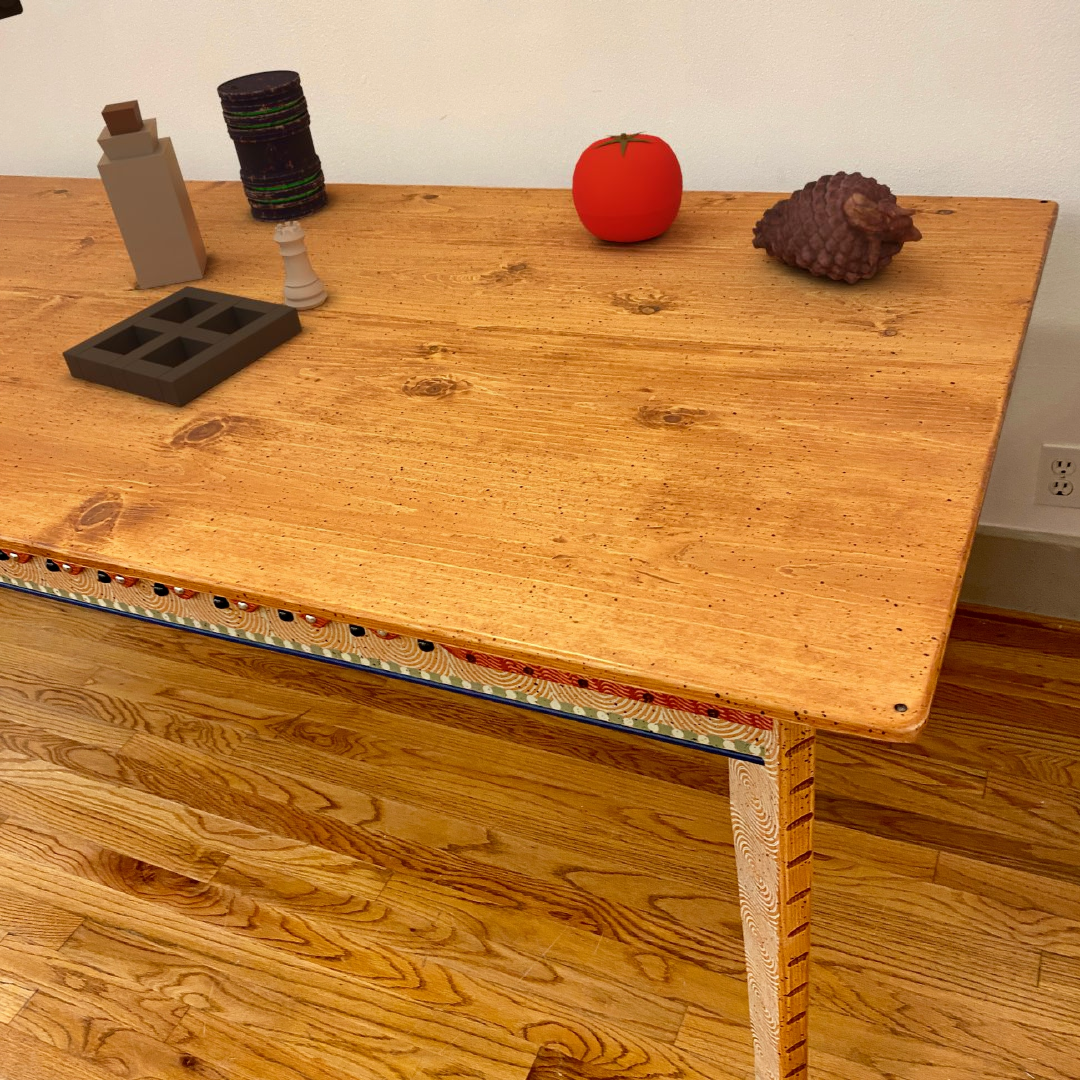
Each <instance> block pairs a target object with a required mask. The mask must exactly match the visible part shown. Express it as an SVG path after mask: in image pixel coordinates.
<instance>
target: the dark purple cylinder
mask: <svg viewBox="0 0 1080 1080" xmlns="http://www.w3.org/2000/svg"><path fill="white" fill-rule="evenodd" d="M301 82H302V81H301V76H300V73H299V72H297V71H295V70H287V69H278V70H276V69H275V70H267V71H260V72H254V73H249V74H245V75H241V76H237V77H234V78H232V79H229V80H227V81H224V82H222V83H220V84H219V85H218V86H217V87H216V92H217V95H218V97H219V99H220V105H221V109H222V116H223V117H222V118H223V120H224V123H225V124H226V129H227V131H226V132H227V134H228V137H229V138H230V140H232V141H233V145H234V149H235V152H236V157H237V160H238V163H239V166H240V169H239V179H240V180H241V183H242V188H243V192H244V195H245V197H246V198H247V202H248V205H249V206H250V213H251V216H252V219H254V220H256V221H259V222H264V223H279V222H280V223H281V222H289V221H295V220H299V219H302V218H305V217H309V216H311V215H314V214H316V213H318V212H320V211H322V210H324V209H325V208H326V207H327V206H328V205H329V202H330V199H329V196H328V193H327V192H326V189H327V188H326V187H327V186H326V184H325V181H326V178H325V174H324V170H323V168H322V161H321V158H320V156H319V154H317V153H316V150H315V149H316V148H315V144H314V140H313V136H312V132H311V127H310V125H311V123H312V122H311V114H310V113H309V109H308V107H309V106H308V101H307V97H306V96H305V95H304V94H305V92H304V88H303V86H302V85H301Z"/></svg>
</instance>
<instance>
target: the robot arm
mask: <svg viewBox="0 0 1080 1080" xmlns="http://www.w3.org/2000/svg"><path fill="white" fill-rule="evenodd" d="M23 12H24V7H23V5H22V2H21V0H0V21H2V20H5V19H9V18H11V17H15V16H19V15H22V14H23Z"/></svg>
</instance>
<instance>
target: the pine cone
mask: <svg viewBox="0 0 1080 1080" xmlns="http://www.w3.org/2000/svg"><path fill="white" fill-rule="evenodd" d="M897 200H898V197H897V196H896V194H894V193H892V192H891V187H889V186H888V185H887V184H886V183H883V184H880V183H878V179H876V178H874V177H873V176H870V177H867V176H863V175H862V173H861V172H860V171H854V172H852V173H846V172H845V171H844V170H840V171H838V172H836V173H835V174H824V175H821V176H820V177H819V178H818V179H817V180H814V181H813V180H812V181H808V182H807V183H806V184H804V186H803V188H802V189H796V190H793V192H792V193H791V195H790V197H789V198H786V199H781V200H778V201H777V202H776V203H775V204H773V206H772V207H771V208H767V209H766V210H764V212H763V214H762V216H763V217H762V218H761V219H760V220H757V221H756V222H755V227H752V228H751V229H752V233H753V235H754V238H752V240H751V244H752V246H753V249H755V250H759V249H761V250H762V249H763V250H765V254H766V256H769V257H771V258H774V257H775V258H776V259H778V261H779V262H780V263H782V264H788V265H789V266H790V267H792V268H798V267H799V268H803V269H808V270H809V272H811V274H812V275H813V276H814V277H817V278H818V277H821V276H823V275H827V276H828V278H830V279H832V280H833V281H839V280H844V281H845V282H846V283H848V285H854V284H855V283H856V282H857V281H858V280H859V279H861V278H862V279H864V280H867V279H868V280H869V279H871V278H873V277H874V276H875V274H876V272H877V271H878V270H880V269H884V268H887V267H889V266H890V265H891V264H892V262H893V261H894V260H893V257H894V256H896V255H898V254H901V252H902V249H903V248H904V244H905V243H910V242H914V243H916V242H919V241H921V240H922V239H923V237H924V236H923V234H922V233H921V231H920V230H919V229H918V228H917V227H916V226H915V225H914V220H913V218H912V216H915V214H916V213H917V211H916V209H915V208H913V209H909V208H903V207H901V205H898V204H897Z"/></svg>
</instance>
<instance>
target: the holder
mask: <svg viewBox="0 0 1080 1080" xmlns="http://www.w3.org/2000/svg"><path fill="white" fill-rule="evenodd" d="M302 332H303V327H302V324H301V321H300V316H299V312H298V310H297V309H296V307H291V306H287V305H286V304H280V303H275V302H270V301H265V300H260V299H255V298H249V297H246V296H241V295H236V294H232V293H231V294H230V293H226V292H220V291H215V290H211V289H204V288H200V287H194V286H189V285H187V286H185V287H183V288H181V289H179V290H177V291H174V292H173V293H172V294H170V295H168V296H166V297H164V298H162V299H160V300H158V301H157V302H156V301H155V303H153V304H151V305H149V306H147V307H145V308H143V309H141V310H139V311H138V312H135V313H134V314H132V315H129V316H128V317H126V318H124V319H123V320H120V321H119V322H117V323H115V324H113V325H111V326H110V327H107V328H106V329H104V330H102V331H100V332H98V333H96V334H95V335H92V336H91V337H89V338H87V339H85V340H84V341H81V342H80V343H78V344H76V345H74V346H72V347H70V348H68V349H66V350H65V351H62V352H61V354H62V356H63V359H64V361H65V363H66V366H67V368H68V370H69V373H70V375H71V377H74V378H77V379H81V380H84V381H88V382H92V383H95V384H99V385H102V386H104V387H105V386H106V387H109V388H113V389H116V390H119V391H122V392H126V393H129V394H134V395H137V396H139V397H144V398H148V399H151V400H155V401H158V402H162V403H165V404H168V405H169V404H170V405H172V406H177V407H182V406H184V405H186V404H188V403H190V402H191V401H193V400H194V399H196V398H198V397H199V396H201V395H202V394H204V393H205V392H206V391H208V390H210V389H213V388H214V387H215V386H217V385H219V384H220V383H222V382H223V381H225V380H226V379H228V378H230V377H232V375H235V374H236V373H238V372H239V371H241V370H243V369H244V368H246V367H247V366H249V365H251V364H252V363H254V362H255V361H257V360H258V359H260V358H262V357H263V356H265V355H266V354H268V353H270V352H271V351H273V350H275V349H276V348H278V347H279V346H281V345H282V344H284V343H286V342H288V341H289V340H290V339H292V338H293V337H295V336H297V335H298V334H300V333H302Z"/></svg>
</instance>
